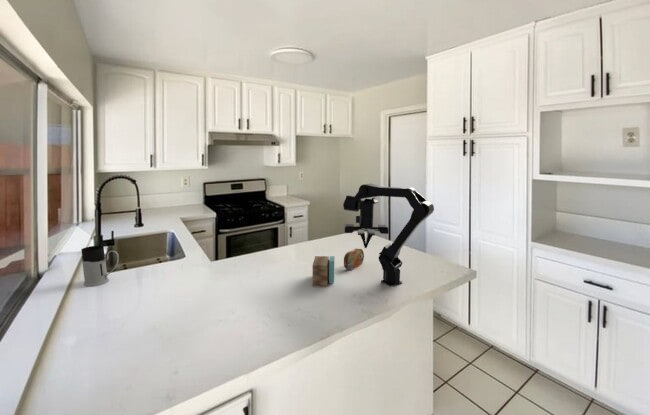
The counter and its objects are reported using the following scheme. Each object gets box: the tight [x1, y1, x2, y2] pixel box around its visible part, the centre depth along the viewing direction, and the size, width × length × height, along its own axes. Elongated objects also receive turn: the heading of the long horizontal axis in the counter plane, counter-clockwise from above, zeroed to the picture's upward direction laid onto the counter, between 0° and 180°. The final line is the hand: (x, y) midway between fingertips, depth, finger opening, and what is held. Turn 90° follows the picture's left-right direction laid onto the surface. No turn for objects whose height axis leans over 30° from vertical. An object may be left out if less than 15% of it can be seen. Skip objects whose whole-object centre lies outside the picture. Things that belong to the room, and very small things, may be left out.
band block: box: [312, 255, 330, 288], centre depth 137 cm, size 6×12×9 cm, turn 177°
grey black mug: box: [81, 245, 120, 288], centre depth 134 cm, size 9×14×15 cm, turn 94°
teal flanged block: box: [328, 255, 335, 284], centre depth 137 cm, size 9×7×10 cm
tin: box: [343, 248, 365, 271], centre depth 155 cm, size 15×3×8 cm, turn 143°
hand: (365, 247), depth 141 cm, fingers closed
